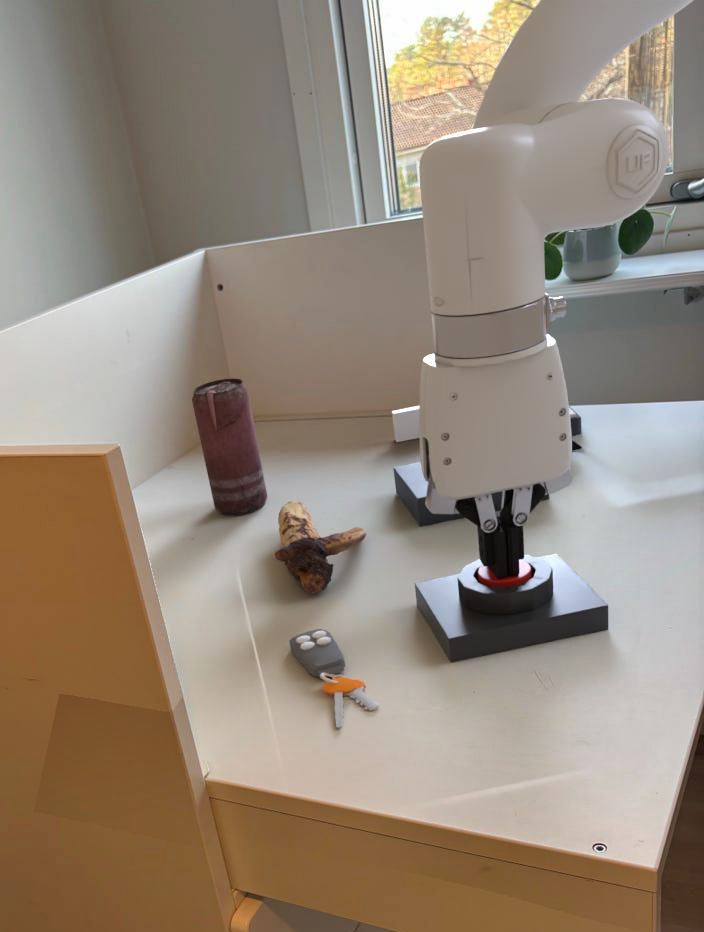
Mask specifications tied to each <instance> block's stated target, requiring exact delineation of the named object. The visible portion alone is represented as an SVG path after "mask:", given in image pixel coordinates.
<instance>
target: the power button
mask: <svg viewBox="0 0 704 932" xmlns="http://www.w3.org/2000/svg"><path fill="white" fill-rule="evenodd" d="M531 578H532V574H531V566H530V565H529V564H528V563H527V562H525V561H522V560H519V575H516V576H511V575H507V576H506V577H505V578H502V579H498V578H497V577H496V576H495V575H494V573H493V572H492V571H491V570H490V568H489V567H488V566H486V567H484V566H483V565H482V566H481V567H480V568H479V569H478V583H481V584H484V585H487V586H490V587H509V586H514V585H519V584H523V583H524V582H526V581H528V580H530V579H531Z"/></svg>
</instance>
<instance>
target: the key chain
mask: <svg viewBox="0 0 704 932" xmlns="http://www.w3.org/2000/svg"><path fill="white" fill-rule="evenodd" d="M288 642H289V647H290V651H291V653H292V654H293V655H294V657H295V658H296V659H297V660H298V661H299V662H300V664H301V665H302V667H304V669H305V670H306V671H307V672H308V673H309V674H311V675H312V676H313V677H317V678H320V679H321V680H322V681H324V683H323V685H322V689H323V692H325V693H326V694H328V695H329V694H330V695H334V715H335V716H334V717H335V724H336V725H335V726H336V727H335V728H336V729H342V728H343V720H344V717H345V716H344V714H345V713H344V699H343V697H345V696H348V697H349V698H350V699H353V700H354V701H355V703H356V704H357V705H358V704H359V706H361V707H363V706H364V710H365V711H367V710H368V711H369V712H371V711H376V710H377V709H379V708H380V705H379V704H377V702H375V701H374V700H373V699H372V698H371V697H370V696H369V695H367V694H366V693H365V692H364V690H365V688H367V687H366V684H365V682H364V681H362V680H360V679H352V678H348V677H346V676H344V675H343V674H340V673H342V672H344V671H345V667H346V662H345V656H344V654H343V653H342V650H341V649H340V647H339V646H338V644H337V642H336V640H335V638H334V637H333V636H332V634H331V632H329V631H328V630H326V629H323V628H318V629H317V628H316V629H312V630H309V631H308V630H307V631H305V632H302V633H299V634H296V635H294V636H293V637H292V638H291V639H289V641H288ZM328 677H329V678H328ZM330 678H331V679H330Z"/></svg>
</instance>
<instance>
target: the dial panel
mask: <svg viewBox="0 0 704 932" xmlns="http://www.w3.org/2000/svg"><path fill="white" fill-rule="evenodd" d="M392 469H393V477H394V484H395V485H394V486H395V494H396V495H397V496H398V498H399V499H400V500H401V502H402V503H403V504H404V506H405V507H406V509H407V510H408V511H409V513H410V515H411V516H412V517H413V519H414V520H415V521H416V523H417V524H418V525H419V527H424V525H425V526H428V525H433V523H434V524H438V523H437V522H439V523H442V522H443V523H444V522H447V520H448V521H453V520H456V519H462V518H465V517H464V516H462V515H461V514H433V513H431V512H430V511H429V509H428V508H427V507H426V505H425V500H426V494H427V488H428V481H427V482H426V481H425V479H424V477H423V474H422V469H421V461H418V462H417V461H416V462H412V463H408V464H403V465H398V466H393V468H392ZM502 492H503V491H500V492H496V493H491V496H492V500H493V505H494V509H495V511H501V502H502ZM546 500H550V494H549V495H548V494H547V495H545V496H544V497H543V499H542V500H541V501H540V502H542V501H546Z"/></svg>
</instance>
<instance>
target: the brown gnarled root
mask: <svg viewBox="0 0 704 932" xmlns="http://www.w3.org/2000/svg"><path fill="white" fill-rule="evenodd" d="M277 521H278V522H277V523H278V526H279V527H278V534H279V539H280V546H281V548H279V549H278V550H277V551H276V552H274V559H275V560H276V561H279V562H284V565H285V566H286V568H287V571H288V573H289V574H290V575H291V576H292V577H293V578H294V580H296V581H297V582H300V585H301V586H302V589H303V590H305V591H307V592H308V593H312V594H318V593H320V592H322V591H325V590H326V589H327V587H328V585H329V584H330V583H331V581H332V576H333V572H334V564H333V563H329V561H328V560H329V559H327V557H330V556H335V555H338V554H340V553H343V552H345V551H349V550H350V549H353V548H354V547H355V548H356V547H357V546H358V545H360V544H361V543H362V542H363V541H364V539H365V538H366V536H367V531H366V530H365V529H364V528H362V527H358V526H356V527H353V528H351V529H348V530H346V531H343V532H339V533H332V534H329V535H326V536H323V537H321V536H320V535H319V533H318V531H317V528H316V527H315V524H314V523H315V522H314V521H313V519H312V517H311V515H310V513H309V511H308V510H307V508H306V507H305V506H304V503H302V502H300V501H298V500H292V501H288V502H287V503H285V504H283V506H282V507H281V509H279V512H278V518H277Z"/></svg>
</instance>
